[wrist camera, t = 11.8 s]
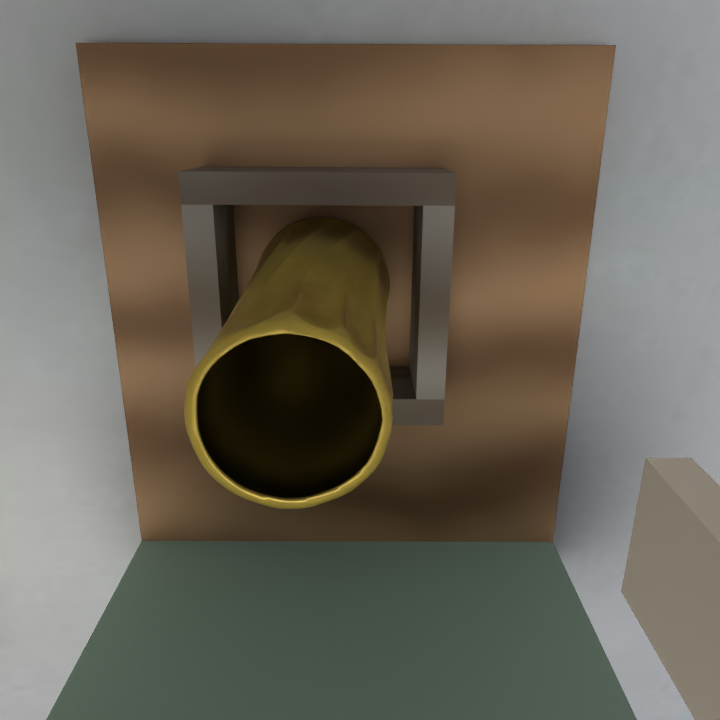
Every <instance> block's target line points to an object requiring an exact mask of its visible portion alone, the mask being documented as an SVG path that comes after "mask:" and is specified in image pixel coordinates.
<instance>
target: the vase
mask: <svg viewBox="0 0 720 720" xmlns="http://www.w3.org/2000/svg"><path fill="white" fill-rule="evenodd" d="M389 288H390V281H389V275H388V270H387V268H386V265H385V262H384V259H383V256H382V254H381V252H380V249H379V248H378V247H377V246H376V244H375V243H374V242H373V241H372V240H371V239H370V238H369V237H368V236H367V235H366V234H365V233H364V232H362V231H361V230H360V229H358V228H356V227H355V226H353V225H351V224H348V223H345V222H343V221H340V220H336V219H332V218H313V219H308V220H304V221H301V222H298V223H295V224H292V225H290V226H288V227H286V228H285V229H283V230H282V231H281V232H280V233H278V234H277V235H276V236H275V237H274V238H273V239H272V240H271V241H270V242H269V244H268V245H267V246H266V248H265V249H264V251H263V253H262V254H261V257H260V259H259V262H258V266H257V269H256V270H255V272H254V274H253V276H252V278H251V281H250V283H249V284H248V286H247V288H246V289H245V291H244V293H243V294H242V296H241V297H240V299H239V301H238V302H237V304H236V306H235V307H234V309H233V311H232V313H231V315H230V316H229V318H228V320H227V321H226V323H225V324H224V326H223V328H222V329H221V331H220V332H219V334H218V336H217V337H216V339H215V340H214V342H213V344H212V345H211V347H210V348H209V350H208V351H207V353H206V354H205V356H204V357H203V358H202V360H201V361H200V362H199V364H198V365H197V366H196V368H195V369H194V370H193V372H192V373H191V376H190V379H189V381H188V384H187V389H186V394H185V407H184V416H185V425H186V429H187V433H188V435H189V439H190V442H191V444H192V446H193V449H194V451H195V453H196V455H197V457H198V458H199V460H200V462H201V463H202V465H203V467H204V468H205V469H206V471H207V472H208V473H209V474H210V475H211V476H212V477H213V478H214V479H215V480H216V481H217V482H219V483H220V484H221V485H222V486H224V487H225V488H226V489H228V490H229V491H231V492H232V493H234V494H236V495H238V496H240V497H242V498H245V499H247V500H250V501H253V502H256V503H259V504H262V505H265V506H269V507H274V508H279V509H298V508H307V507H313V506H316V505H319V504H322V503H325V502H328V501H330V500H333V499H336V498H338V497H341V496H343V495H345V494H347V493H348V492H350V491H352V490H353V489H355V488H356V487H357V486H358V485H360V484H361V483H362V482H363V481H364V480H365V479H367V478H368V477H369V476H370V475H371V474H372V473H373V471H374V470H375V469H376V468H377V466H378V465H379V463H380V462H381V459H382V457H383V455H384V453H385V450H386V446H387V443H388V440H389V437H390V433H391V428H392V422H393V414H392V402H393V390H392V383H391V375H390V369H389V362H388V356H387V348H386V336H385V323H386V308H387V300H388V296H389Z"/></svg>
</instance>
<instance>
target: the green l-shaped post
mask: <svg viewBox="0 0 720 720" xmlns="http://www.w3.org/2000/svg"><path fill="white" fill-rule="evenodd" d="M46 720H637V719H636V717H635V715H634V713H633V711H632V709H631V707H630V704H629V702H628V700H627V698H626V696H625V694H624V692H623V690H622V688H621V685H620V683H619V681H618V679H617V677H616V675H615V673H614V671H613V669H612V666H611V664H610V662H609V660H608V658H607V656H606V654H605V652H604V650H603V647H602V645H601V643H600V641H599V639H598V637H597V635H596V633H595V631H594V628H593V626H592V624H591V622H590V620H589V618H588V616H587V614H586V612H585V609H584V607H583V605H582V603H581V601H580V599H579V597H578V595H577V593H576V590H575V588H574V586H573V584H572V582H571V580H570V578H569V576H568V574H567V571H566V569H565V567H564V565H563V563H562V561H561V559H560V557H559V555H558V552H557V550H556V548H555V546H554V544H553V542H376V541H142V542H141V544H140V545H139V547H138V549H137V551H136V553H135V555H134V557H133V559H132V560H131V562H130V564H129V566H128V568H127V570H126V572H125V574H124V575H123V577H122V579H121V581H120V583H119V585H118V587H117V588H116V590H115V592H114V594H113V596H112V598H111V600H110V602H109V603H108V605H107V607H106V609H105V611H104V613H103V615H102V617H101V618H100V620H99V622H98V624H97V626H96V628H95V630H94V632H93V633H92V635H91V637H90V639H89V641H88V643H87V645H86V646H85V648H84V650H83V652H82V654H81V656H80V658H79V660H78V661H77V663H76V665H75V667H74V669H73V671H72V673H71V675H70V676H69V678H68V680H67V682H66V684H65V686H64V688H63V690H62V691H61V693H60V695H59V697H58V699H57V701H56V703H55V705H54V706H53V708H52V710H51V712H50V714H49V716H48V718H47V719H46Z"/></svg>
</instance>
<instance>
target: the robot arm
mask: <svg viewBox="0 0 720 720" xmlns="http://www.w3.org/2000/svg"><path fill="white" fill-rule="evenodd" d="M621 592H622V593H623V595H624V597H625V599H626V600H627V602H628V604H629V606H630V607H631V609H632V611H633V613H634V614H635V616H636V618H637V620H638V621H639V623H640V625H641V627H642V628H643V630H644V632H645V634H646V635H647V637H648V639H649V640H650V642H651V644H652V646H653V647H654V649H655V651H656V653H657V654H658V656H659V658H660V660H661V661H662V663H663V665H664V667H665V668H666V670H667V672H668V674H669V675H670V677H671V679H672V680H673V682H674V684H675V686H676V687H677V689H678V691H679V693H680V694H681V696H682V698H683V700H684V701H685V703H686V705H687V707H688V708H689V710H690V712H691V714H692V715H693V717H694V719H695V720H720V486H719V485H718V484H717V483H716V482H715V481H714V480H713V479H712V478H711V477H710V476H709V475H708V474H707V473H706V472H705V471H704V470H703V469H702V468H701V467H700V466H699V465H698V464H697V463H696V462H695V461H694V460H693V459H692V458H646V459H645V465H644V470H643V476H642V481H641V487H640V492H639V497H638V503H637V508H636V514H635V519H634V525H633V530H632V536H631V541H630V547H629V552H628V558H627V563H626V568H625V574H624V579H623V585H622V590H621Z"/></svg>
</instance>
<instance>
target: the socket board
mask: <svg viewBox="0 0 720 720" xmlns="http://www.w3.org/2000/svg"><path fill="white" fill-rule="evenodd" d="M615 47H616V45H431V44H225V43H76V49H77V56H78V64H79V71H80V79H81V86H82V94H83V101H84V109H85V116H86V124H87V131H88V139H89V146H90V154H91V161H92V169H93V176H94V184H95V191H96V199H97V206H98V214H99V222H100V229H101V237H102V244H103V252H104V259H105V267H106V274H107V282H108V289H109V297H110V304H111V312H112V319H113V327H114V334H115V342H116V349H117V357H118V364H119V372H120V379H121V387H122V394H123V402H124V409H125V417H126V425H127V432H128V440H129V447H130V455H131V462H132V470H133V477H134V485H135V492H136V500H137V507H138V515H139V522H140V530H141V537H142V541H376V542H553V535H554V527H555V519H556V511H557V503H558V495H559V487H560V480H561V472H562V464H563V456H564V448H565V440H566V432H567V424H568V417H569V409H570V401H571V393H572V385H573V377H574V369H575V361H576V354H577V346H578V338H579V330H580V322H581V314H582V306H583V298H584V291H585V283H586V275H587V267H588V259H589V251H590V243H591V235H592V228H593V220H594V212H595V204H596V196H597V188H598V180H599V172H600V165H601V157H602V149H603V141H604V133H605V125H606V117H607V110H608V102H609V94H610V86H611V78H612V70H613V62H614V54H615ZM313 218H332V219H336V220H340V221H343V222H345V223H348V224H351V225H353V226H355V227H356V228H358V229H360V230H361V231H362V232H364V233H365V234H366V235H367V236H368V237H369V238H370V239H371V240H372V241H373V242H374V243H375V244H376V246H377V247H378V248H379V249H380V252H381V254H382V256H383V259H384V262H385V265H386V268H387V270H388V275H389V281H390V288H389V296H388V300H387V308H386V323H385V336H386V348H387V356H388V362H389V369H390V375H391V383H392V390H393V402H392V414H393V422H392V428H391V433H390V437H389V440H388V443H387V446H386V450H385V453H384V455H383V457H382V459H381V462H380V463H379V465H378V466H377V468H376V469H375V470H374V471H373V473H372V474H371V475H370V476H369V477H368V478H367V479H365V480H364V481H363V482H362V483H361V484H360V485H358V486H357V487H356V488H355V489H353V490H352V491H350V492H348V493H347V494H345V495H343V496H341V497H338V498H336V499H333V500H330V501H328V502H325V503H322V504H319V505H316V506H313V507H307V508H298V509H279V508H274V507H269V506H265V505H262V504H259V503H256V502H253V501H250V500H247V499H245V498H242V497H240V496H238V495H236V494H234V493H232V492H231V491H229V490H228V489H226V488H225V487H224V486H222V485H221V484H220V483H219V482H217V481H216V480H215V479H214V478H213V477H212V476H211V475H210V474H209V473H208V472H207V471H206V469H205V468H204V467H203V465H202V463H201V462H200V460H199V458H198V457H197V455H196V453H195V451H194V449H193V446H192V444H191V442H190V439H189V435H188V433H187V429H186V425H185V416H184V407H185V394H186V389H187V384H188V381H189V379H190V376H191V373H192V372H193V370H194V369H195V368H196V366H197V365H198V364H199V362H200V361H201V360H202V358H203V357H204V356H205V354H206V353H207V351H208V350H209V348H210V347H211V345H212V344H213V342H214V340H215V339H216V337H217V336H218V334H219V332H220V331H221V329H222V328H223V326H224V324H225V323H226V321H227V320H228V318H229V316H230V315H231V313H232V311H233V309H234V307H235V306H236V304H237V302H238V301H239V299H240V297H241V296H242V294H243V293H244V291H245V289H246V288H247V286H248V284H249V283H250V281H251V278H252V276H253V274H254V272H255V270H256V269H257V266H258V262H259V259H260V257H261V254H262V253H263V251H264V249H265V248H266V246H267V245H268V244H269V242H270V241H271V240H272V239H273V238H274V237H275V236H276V235H277V234H278V233H280V232H281V231H282V230H283V229H285V228H286V227H288V226H290V225H292V224H295V223H298V222H301V221H304V220H308V219H313Z"/></svg>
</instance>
